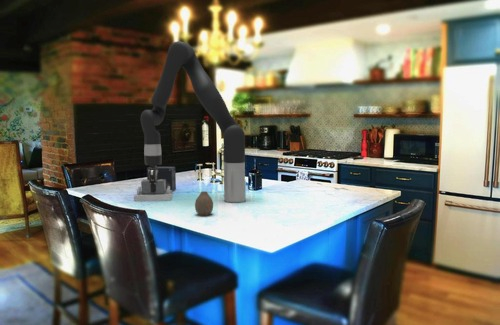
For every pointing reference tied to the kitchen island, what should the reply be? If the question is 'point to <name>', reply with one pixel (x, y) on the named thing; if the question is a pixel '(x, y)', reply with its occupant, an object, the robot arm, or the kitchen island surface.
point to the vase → (204, 204)
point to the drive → (159, 187)
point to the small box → (166, 176)
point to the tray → (153, 196)
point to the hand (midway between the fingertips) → (153, 190)
